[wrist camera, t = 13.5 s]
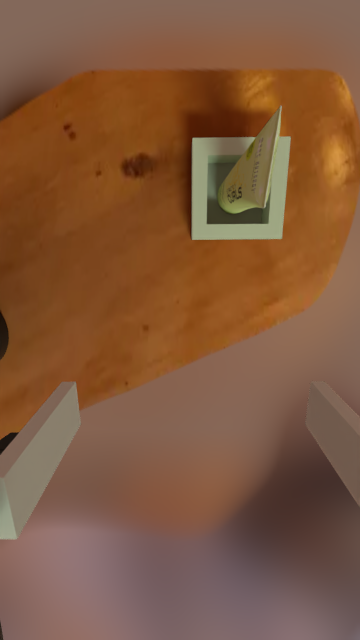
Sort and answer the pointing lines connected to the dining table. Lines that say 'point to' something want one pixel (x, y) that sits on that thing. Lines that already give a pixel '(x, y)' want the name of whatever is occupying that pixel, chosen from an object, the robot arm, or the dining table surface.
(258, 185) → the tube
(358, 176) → the dining table surface
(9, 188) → the dining table surface
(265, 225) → the socket block
